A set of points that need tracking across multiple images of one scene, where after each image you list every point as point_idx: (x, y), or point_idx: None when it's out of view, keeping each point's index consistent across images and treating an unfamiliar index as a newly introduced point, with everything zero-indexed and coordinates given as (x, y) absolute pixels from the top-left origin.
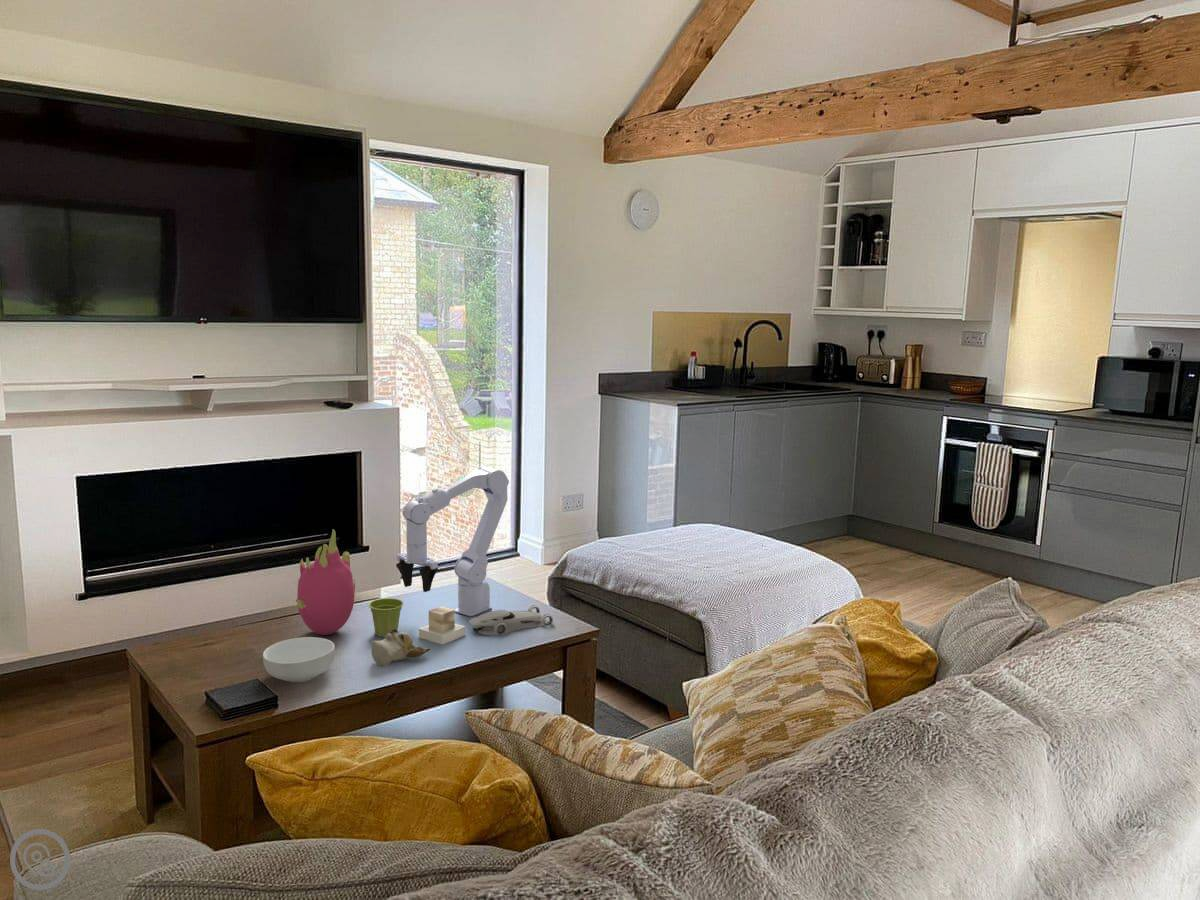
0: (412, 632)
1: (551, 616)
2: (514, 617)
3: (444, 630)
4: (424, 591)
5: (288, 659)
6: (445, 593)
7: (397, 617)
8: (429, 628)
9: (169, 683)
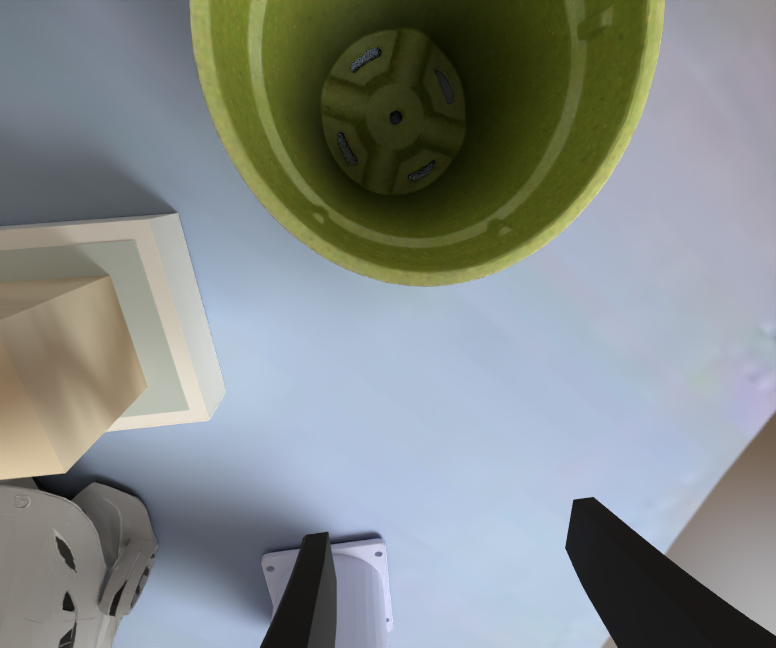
0: (284, 245)
1: None
2: None
3: None
4: (312, 537)
5: None
6: (562, 613)
7: (289, 134)
8: (99, 273)
9: None
